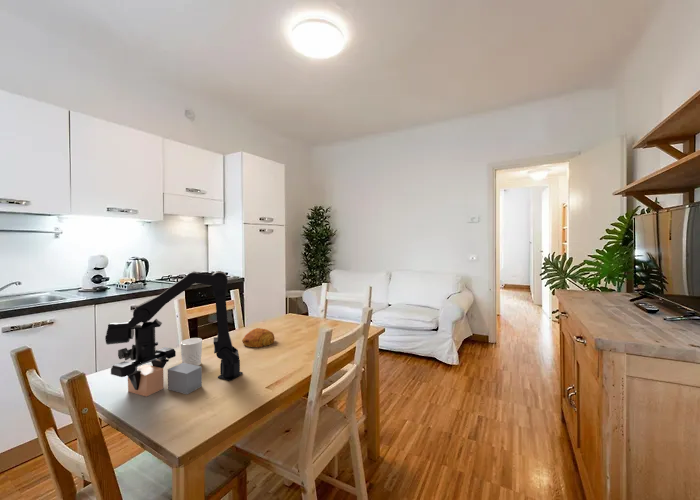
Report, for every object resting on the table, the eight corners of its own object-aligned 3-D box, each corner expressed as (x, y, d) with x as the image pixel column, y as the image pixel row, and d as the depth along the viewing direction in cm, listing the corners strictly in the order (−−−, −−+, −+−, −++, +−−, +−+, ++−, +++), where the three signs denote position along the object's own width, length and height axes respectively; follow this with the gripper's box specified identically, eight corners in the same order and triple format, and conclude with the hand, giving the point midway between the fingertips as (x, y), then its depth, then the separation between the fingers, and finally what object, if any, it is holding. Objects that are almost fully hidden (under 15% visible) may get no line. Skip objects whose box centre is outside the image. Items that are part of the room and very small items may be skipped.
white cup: (193, 370, 119) (193, 345, 119) (176, 368, 121) (175, 343, 121) (206, 362, 127) (206, 338, 127) (190, 360, 129) (190, 337, 128)
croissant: (260, 340, 161) (259, 325, 161) (280, 342, 152) (278, 326, 152) (236, 347, 149) (235, 331, 150) (255, 350, 140) (254, 332, 141)
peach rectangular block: (163, 388, 104) (163, 368, 104) (146, 396, 99) (146, 375, 99) (145, 383, 108) (145, 364, 107) (128, 391, 102) (127, 371, 102)
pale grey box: (201, 386, 106) (201, 366, 106) (187, 394, 101) (186, 373, 100) (183, 381, 109) (182, 362, 109) (167, 389, 104) (167, 369, 104)
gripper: (155, 330, 114) (155, 370, 115) (99, 346, 97) (100, 393, 97) (176, 333, 110) (176, 375, 111) (122, 350, 93) (123, 400, 93)
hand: (146, 385), depth 103 cm, fingers closed on peach rectangular block, 6 cm apart
